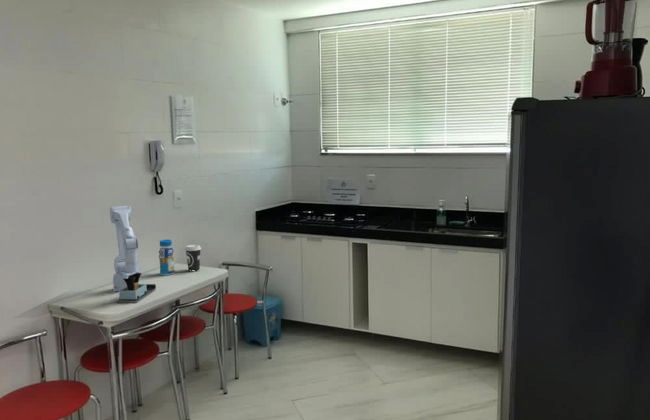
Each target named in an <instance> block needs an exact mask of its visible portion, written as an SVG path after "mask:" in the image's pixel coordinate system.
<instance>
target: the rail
mask: <svg viewBox="0 0 650 420" xmlns="http://www.w3.org/2000/svg"><path fill="white" fill-rule="evenodd" d="M145 284H146V287H147V293H145V294H143V295H142V296H140V298H137V299H120V298H119V299H117V300H116V303H117V304H122V303H124V304H137V303H139V302H140V301H141V300H143V299H145V298H146V297H148V296H149V295H150V294H152V293H153V292H155V291H156V290H157V286H156V284H155V283H145Z"/></svg>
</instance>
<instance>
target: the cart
mask: <svg viewBox="0 0 650 420" xmlns="http://www.w3.org/2000/svg"><path fill="white" fill-rule="evenodd" d="M146 284H147V283H138V287H139V289H137V290H135V291H127V287H125V288H123V289H122V290H120V291H118V292H119V293H118V294H119V299H137V298H140V296H142V295H143V294H145V293H147V287H146Z"/></svg>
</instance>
